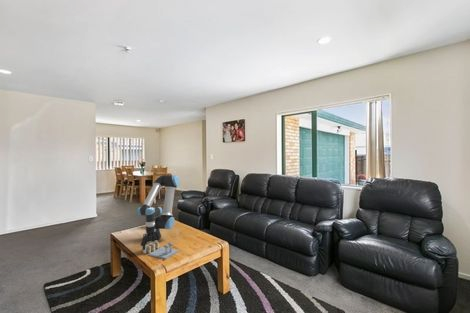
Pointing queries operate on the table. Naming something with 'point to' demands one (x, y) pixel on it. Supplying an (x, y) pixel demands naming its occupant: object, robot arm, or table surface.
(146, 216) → the robot arm
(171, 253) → the boss board
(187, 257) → the table surface
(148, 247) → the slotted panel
